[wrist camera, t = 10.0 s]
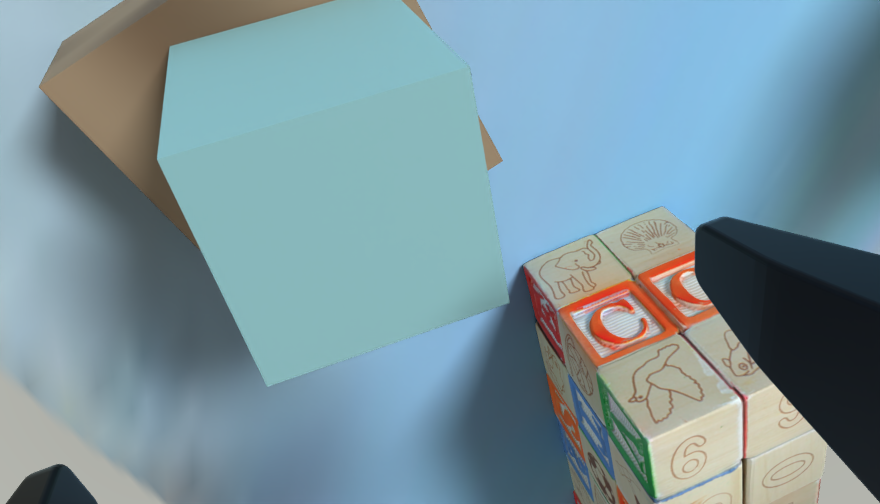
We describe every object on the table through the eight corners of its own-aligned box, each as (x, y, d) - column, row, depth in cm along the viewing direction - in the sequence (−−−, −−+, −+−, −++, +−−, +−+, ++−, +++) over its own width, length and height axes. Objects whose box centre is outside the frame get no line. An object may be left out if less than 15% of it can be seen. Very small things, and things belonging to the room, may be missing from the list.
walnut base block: (320, -135, 18) (350, -123, 15) (457, 110, 23) (502, 160, 19) (64, 37, 18) (38, 86, 15) (252, 244, 23) (264, 315, 20)
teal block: (386, -14, 16) (469, 66, 11) (428, 173, 19) (509, 302, 14) (169, 46, 15) (156, 159, 10) (248, 230, 18) (267, 387, 13)
